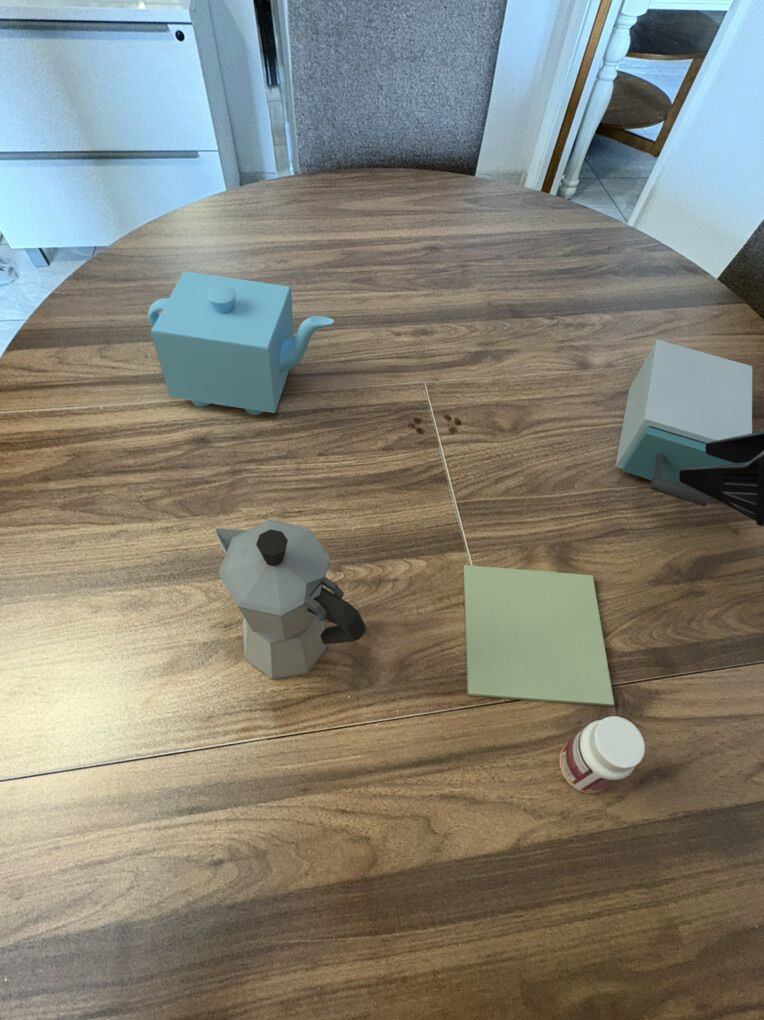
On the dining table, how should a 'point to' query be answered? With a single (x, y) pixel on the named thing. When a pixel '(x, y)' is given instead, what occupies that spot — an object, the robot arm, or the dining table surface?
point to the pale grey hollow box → (687, 397)
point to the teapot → (228, 341)
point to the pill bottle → (601, 754)
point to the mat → (534, 636)
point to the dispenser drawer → (669, 462)
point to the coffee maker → (284, 597)
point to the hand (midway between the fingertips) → (693, 461)
